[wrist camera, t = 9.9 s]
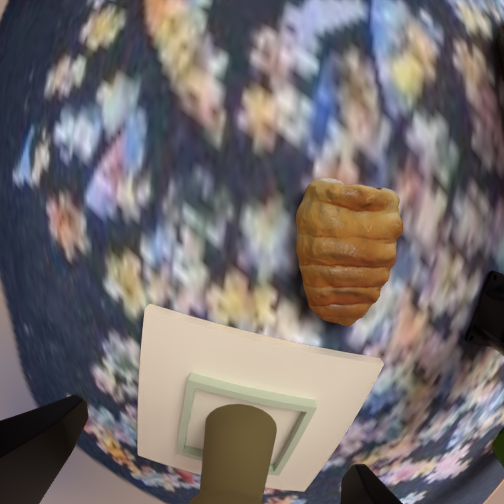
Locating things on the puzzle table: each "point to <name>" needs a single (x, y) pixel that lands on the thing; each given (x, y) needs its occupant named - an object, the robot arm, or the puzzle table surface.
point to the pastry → (346, 246)
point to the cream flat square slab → (245, 392)
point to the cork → (236, 455)
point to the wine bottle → (499, 447)
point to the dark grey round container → (501, 47)
